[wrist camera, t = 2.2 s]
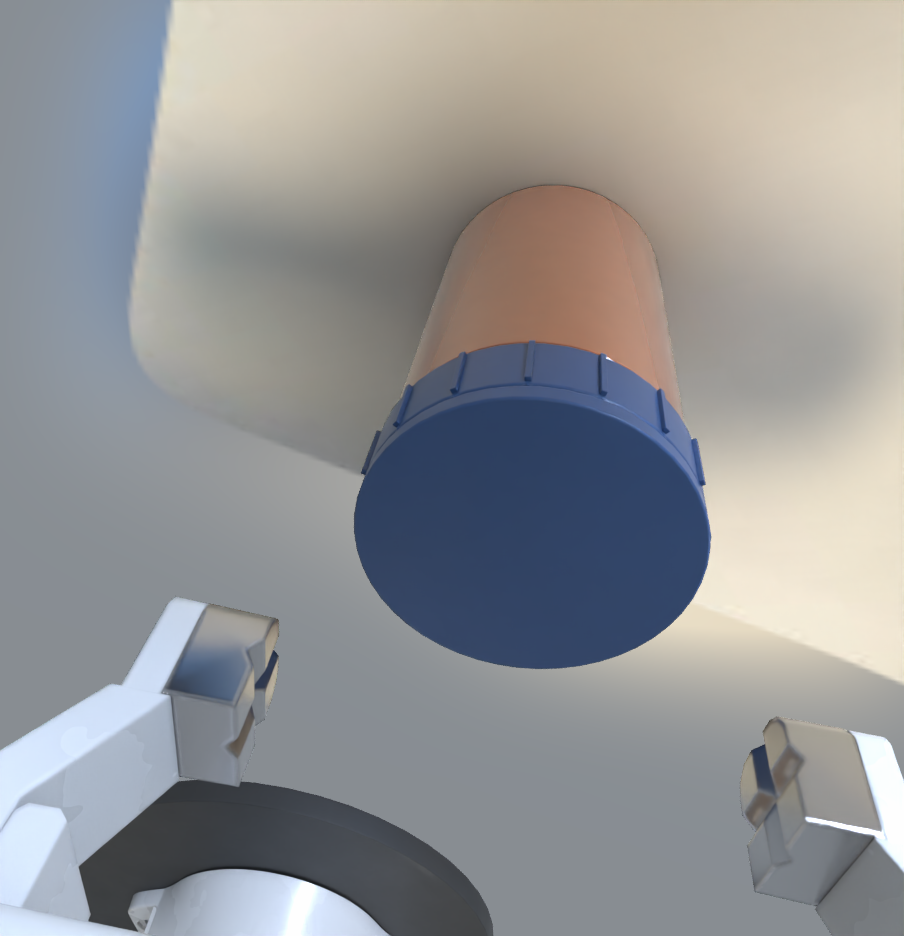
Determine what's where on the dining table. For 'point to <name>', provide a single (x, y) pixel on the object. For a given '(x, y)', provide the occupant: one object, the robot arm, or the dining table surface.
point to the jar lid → (534, 508)
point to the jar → (553, 286)
